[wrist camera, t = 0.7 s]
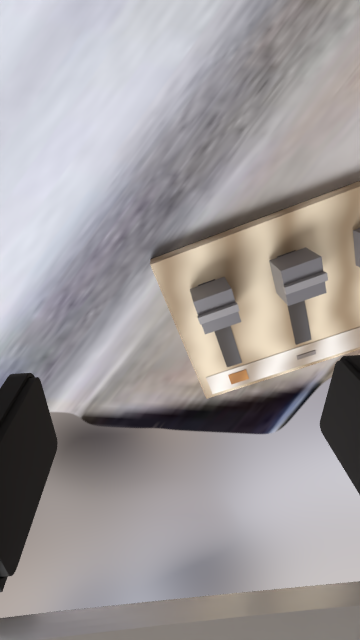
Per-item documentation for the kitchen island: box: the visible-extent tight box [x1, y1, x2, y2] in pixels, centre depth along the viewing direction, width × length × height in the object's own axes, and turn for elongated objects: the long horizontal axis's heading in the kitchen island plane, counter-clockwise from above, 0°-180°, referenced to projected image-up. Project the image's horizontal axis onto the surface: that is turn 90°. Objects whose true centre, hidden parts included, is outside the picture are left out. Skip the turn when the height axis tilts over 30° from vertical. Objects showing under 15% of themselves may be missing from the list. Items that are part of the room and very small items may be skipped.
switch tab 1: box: [190, 277, 241, 334], centre depth 33 cm, size 4×4×4 cm
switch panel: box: [150, 181, 360, 399], centre depth 36 cm, size 28×20×2 cm
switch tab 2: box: [269, 247, 328, 306], centre depth 32 cm, size 4×4×4 cm
